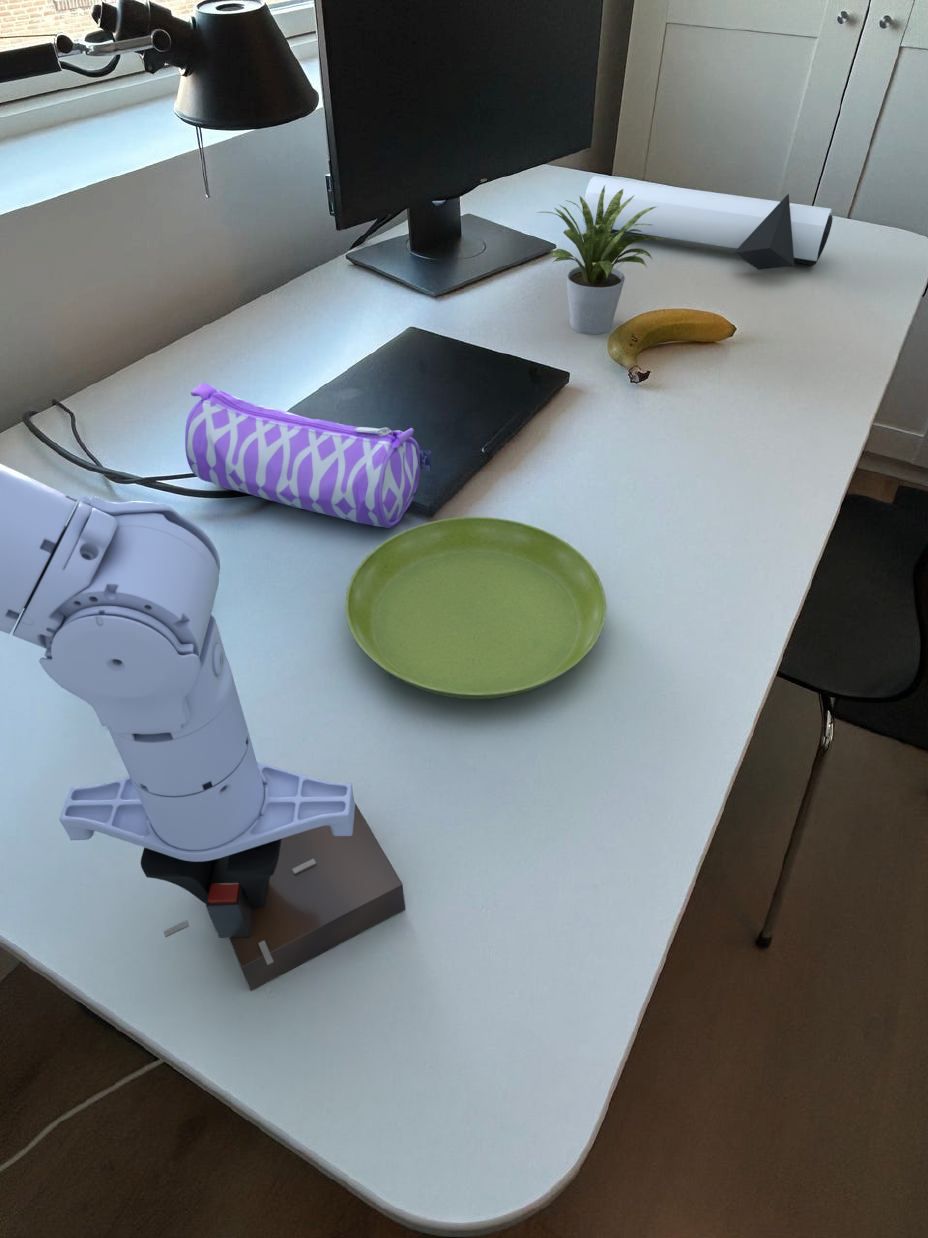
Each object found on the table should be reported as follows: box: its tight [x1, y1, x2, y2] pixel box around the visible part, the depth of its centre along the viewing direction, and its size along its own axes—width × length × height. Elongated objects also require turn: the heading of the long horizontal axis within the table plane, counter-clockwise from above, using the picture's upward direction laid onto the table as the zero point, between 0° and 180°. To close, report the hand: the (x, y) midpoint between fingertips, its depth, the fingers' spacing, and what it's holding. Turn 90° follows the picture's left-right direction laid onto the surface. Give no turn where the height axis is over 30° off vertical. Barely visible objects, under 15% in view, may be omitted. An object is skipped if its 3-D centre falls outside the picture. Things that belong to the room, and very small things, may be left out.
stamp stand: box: [162, 802, 406, 992], centre depth 53 cm, size 13×9×3 cm
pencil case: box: [184, 382, 432, 529], centre depth 82 cm, size 22×9×9 cm, turn 71°
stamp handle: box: [205, 855, 255, 939], centre depth 50 cm, size 5×2×4 cm, turn 1°
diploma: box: [582, 175, 834, 271], centre depth 124 cm, size 35×9×14 cm
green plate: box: [344, 516, 607, 700], centre depth 71 cm, size 21×21×3 cm
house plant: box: [537, 186, 666, 335], centre depth 105 cm, size 14×14×16 cm
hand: (240, 892), depth 51 cm, fingers closed on stamp handle, 2 cm apart
